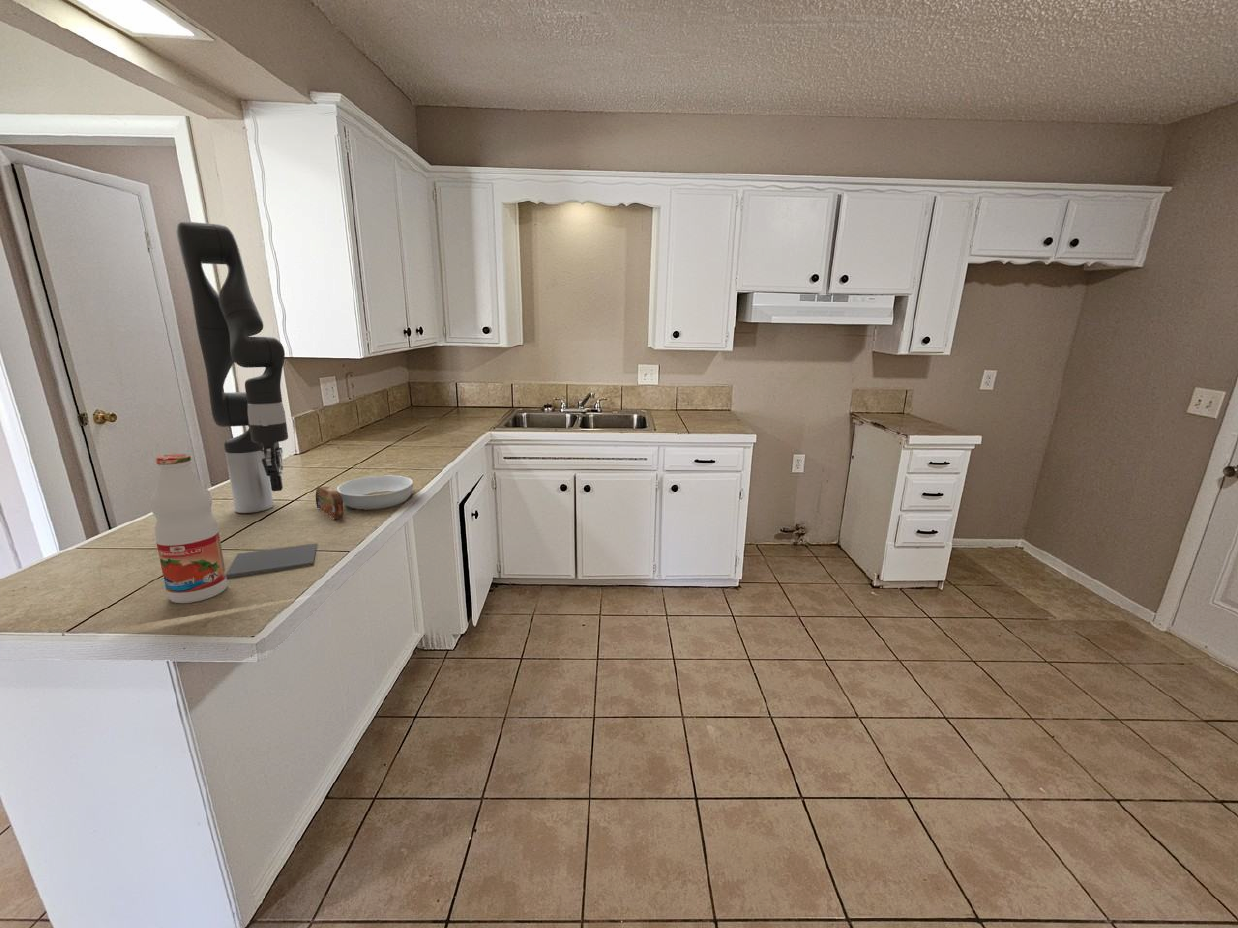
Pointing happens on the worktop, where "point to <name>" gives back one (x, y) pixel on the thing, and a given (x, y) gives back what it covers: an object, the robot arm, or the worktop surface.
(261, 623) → the worktop surface
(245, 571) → the mat
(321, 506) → the tin
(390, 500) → the serving bowl
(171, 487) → the fruit juice
